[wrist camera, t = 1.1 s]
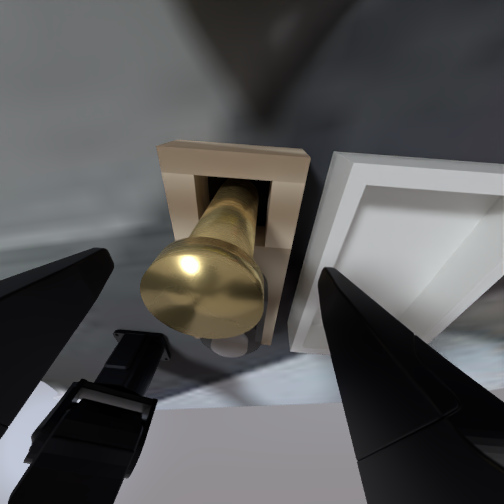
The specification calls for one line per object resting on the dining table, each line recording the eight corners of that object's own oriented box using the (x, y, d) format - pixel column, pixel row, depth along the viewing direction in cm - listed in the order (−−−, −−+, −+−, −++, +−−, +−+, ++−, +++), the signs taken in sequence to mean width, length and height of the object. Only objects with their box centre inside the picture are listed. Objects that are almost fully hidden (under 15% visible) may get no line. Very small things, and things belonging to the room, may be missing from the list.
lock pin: (262, 223, 16) (258, 343, 8) (213, 219, 16) (156, 334, 8) (268, 171, 13) (270, 262, 5) (210, 166, 13) (122, 249, 5)
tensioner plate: (270, 320, 23) (270, 368, 19) (202, 314, 23) (188, 360, 19) (302, 148, 12) (321, 167, 8) (177, 139, 13) (130, 153, 8)
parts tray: (390, 331, 23) (408, 362, 20) (287, 321, 23) (290, 351, 20) (526, 165, 12) (605, 181, 9) (333, 151, 12) (353, 162, 10)
